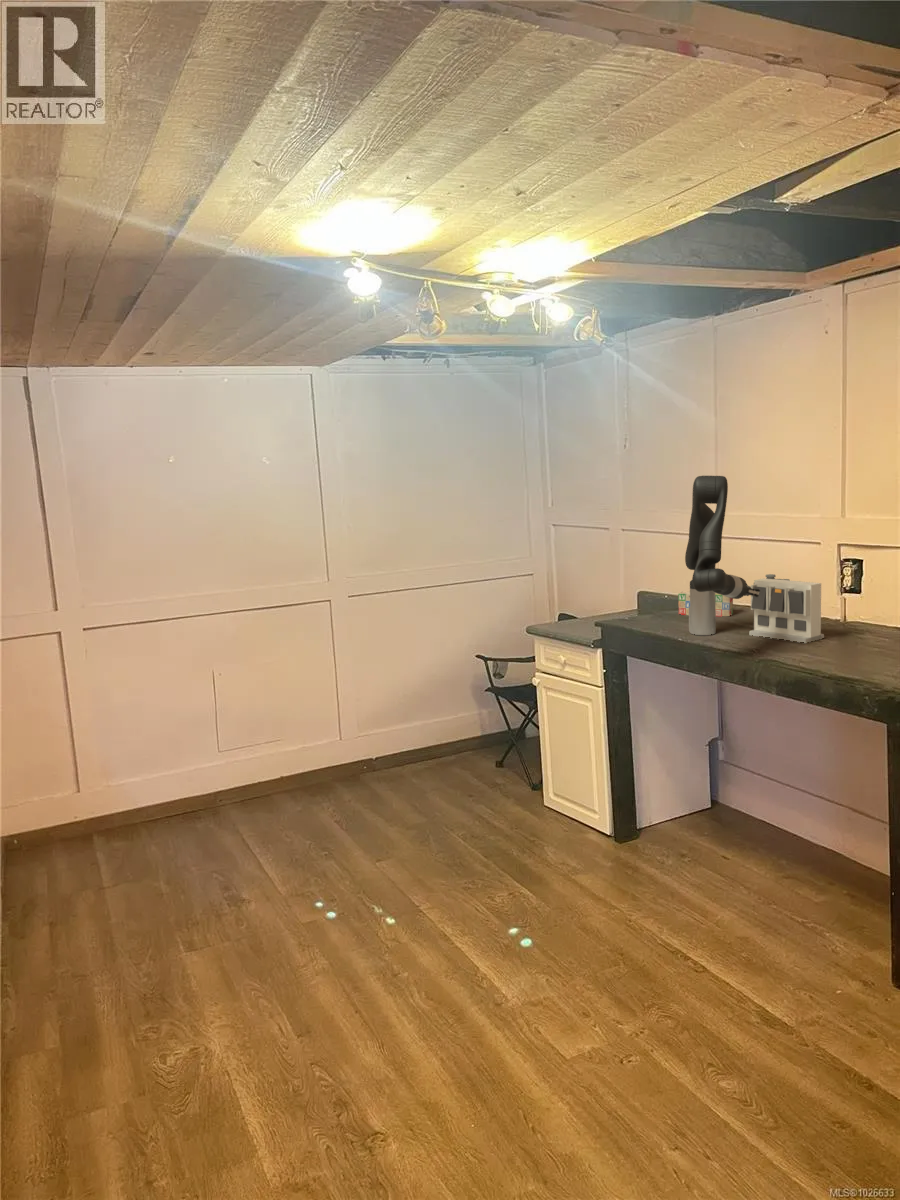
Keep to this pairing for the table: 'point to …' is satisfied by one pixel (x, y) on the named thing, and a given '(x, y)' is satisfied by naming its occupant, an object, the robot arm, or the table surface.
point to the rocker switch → (759, 599)
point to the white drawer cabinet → (789, 613)
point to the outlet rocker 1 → (777, 600)
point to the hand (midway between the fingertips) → (752, 592)
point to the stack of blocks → (721, 602)
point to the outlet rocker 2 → (796, 601)
